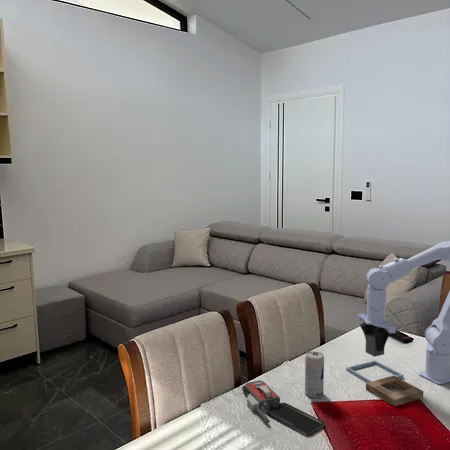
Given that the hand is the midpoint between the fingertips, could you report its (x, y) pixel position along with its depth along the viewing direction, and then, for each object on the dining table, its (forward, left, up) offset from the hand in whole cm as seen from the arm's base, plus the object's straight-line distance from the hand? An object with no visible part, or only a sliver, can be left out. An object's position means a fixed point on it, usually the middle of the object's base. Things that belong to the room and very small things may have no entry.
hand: (375, 347), depth 144 cm
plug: (0, 0, -2) cm, 2 cm away
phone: (+38, +11, -10) cm, 41 cm away
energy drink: (+25, +2, -9) cm, 27 cm away
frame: (0, 0, -9) cm, 9 cm away
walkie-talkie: (+42, 0, -10) cm, 43 cm away
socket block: (+4, +12, -9) cm, 16 cm away
